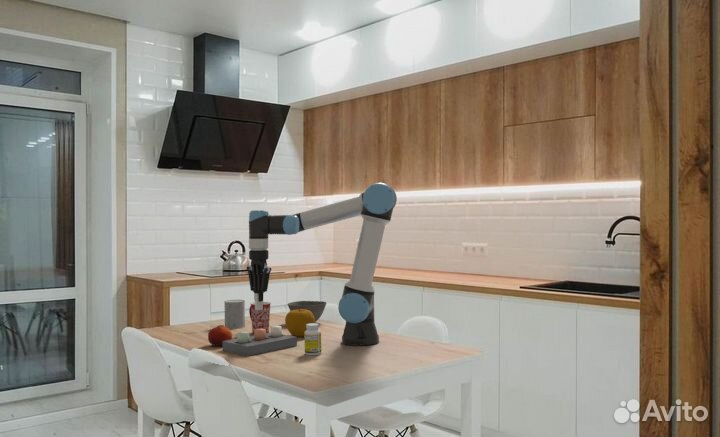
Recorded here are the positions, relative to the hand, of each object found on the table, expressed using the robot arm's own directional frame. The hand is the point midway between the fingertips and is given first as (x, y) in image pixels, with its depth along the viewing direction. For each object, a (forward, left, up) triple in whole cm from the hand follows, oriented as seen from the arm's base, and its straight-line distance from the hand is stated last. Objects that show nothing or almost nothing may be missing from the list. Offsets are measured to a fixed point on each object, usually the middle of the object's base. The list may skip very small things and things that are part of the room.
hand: (258, 309), depth 237 cm
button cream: (0, -8, -12) cm, 14 cm away
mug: (+27, -20, -15) cm, 37 cm away
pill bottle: (-24, -6, -15) cm, 29 cm away
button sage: (0, +8, -12) cm, 14 cm away
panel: (0, 0, -15) cm, 15 cm away
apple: (+7, -27, -15) cm, 32 cm away
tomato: (+17, +7, -15) cm, 24 cm away
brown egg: (0, 0, -12) cm, 12 cm away
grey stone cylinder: (+48, -22, -15) cm, 55 cm away
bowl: (+28, -50, -15) cm, 59 cm away
